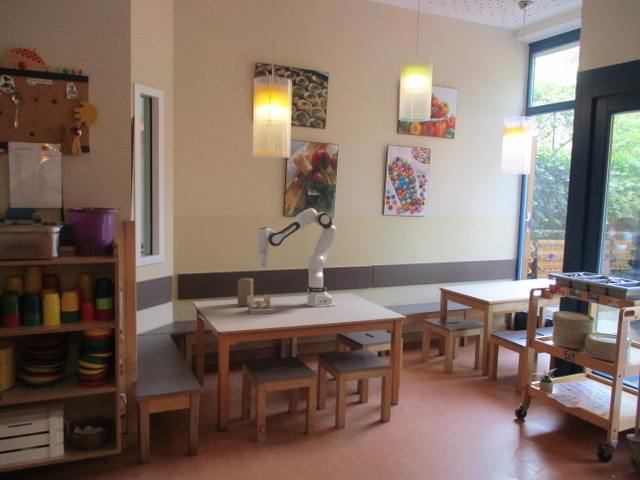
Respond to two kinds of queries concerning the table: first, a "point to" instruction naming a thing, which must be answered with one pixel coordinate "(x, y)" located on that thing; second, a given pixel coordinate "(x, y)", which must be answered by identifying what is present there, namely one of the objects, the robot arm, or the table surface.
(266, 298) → the cargo
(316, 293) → the robot arm
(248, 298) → the cargo
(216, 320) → the table surface
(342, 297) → the table surface
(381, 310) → the table surface
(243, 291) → the wooden block
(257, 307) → the pallet
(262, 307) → the dock
